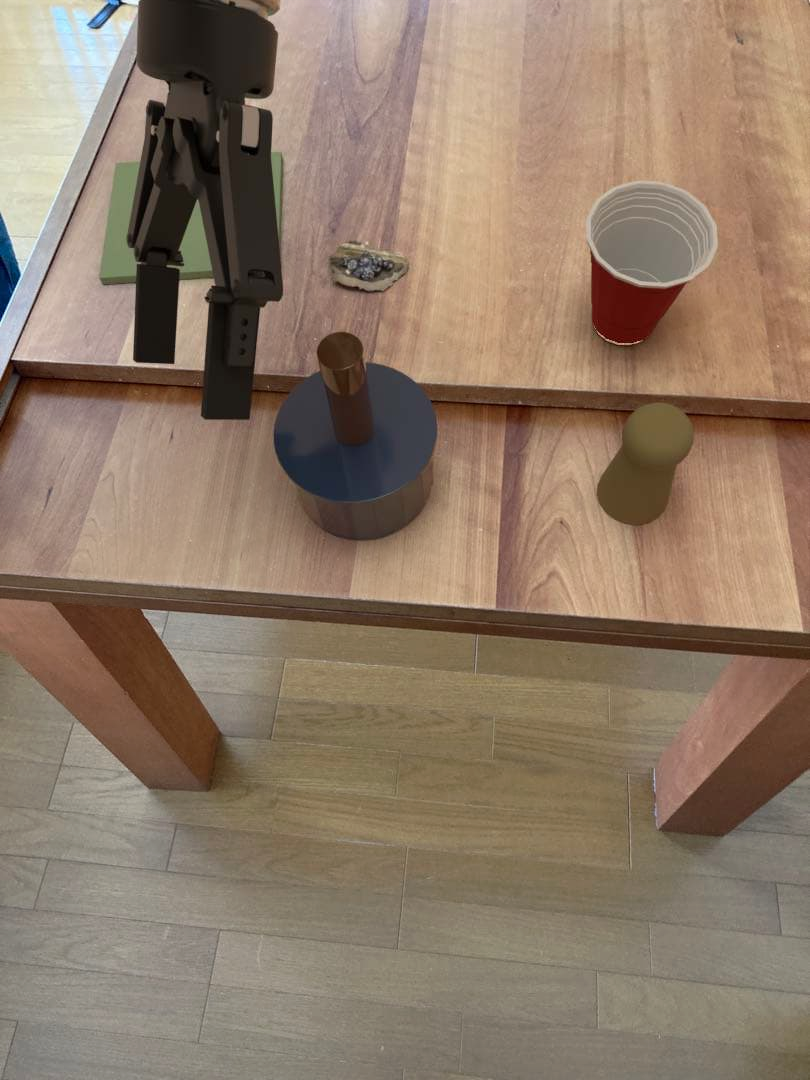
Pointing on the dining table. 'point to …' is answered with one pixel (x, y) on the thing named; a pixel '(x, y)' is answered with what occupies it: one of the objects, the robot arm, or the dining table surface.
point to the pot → (370, 511)
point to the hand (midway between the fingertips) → (186, 388)
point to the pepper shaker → (645, 464)
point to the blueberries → (366, 266)
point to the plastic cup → (644, 254)
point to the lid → (354, 428)
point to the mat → (193, 247)
